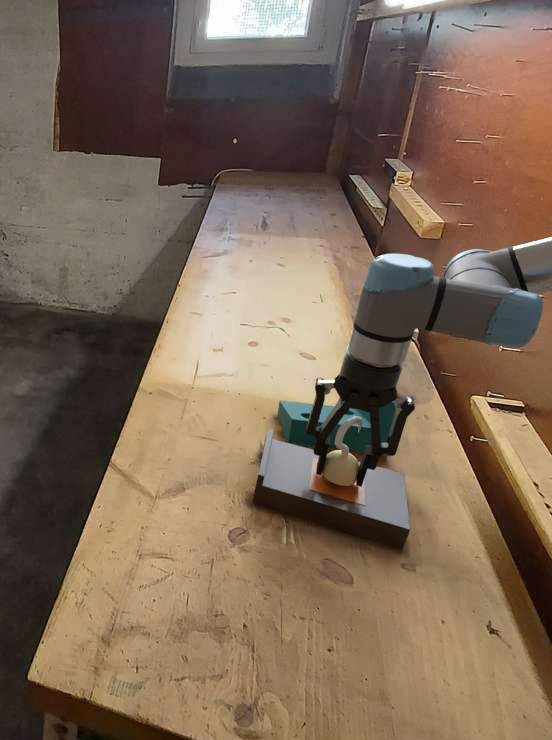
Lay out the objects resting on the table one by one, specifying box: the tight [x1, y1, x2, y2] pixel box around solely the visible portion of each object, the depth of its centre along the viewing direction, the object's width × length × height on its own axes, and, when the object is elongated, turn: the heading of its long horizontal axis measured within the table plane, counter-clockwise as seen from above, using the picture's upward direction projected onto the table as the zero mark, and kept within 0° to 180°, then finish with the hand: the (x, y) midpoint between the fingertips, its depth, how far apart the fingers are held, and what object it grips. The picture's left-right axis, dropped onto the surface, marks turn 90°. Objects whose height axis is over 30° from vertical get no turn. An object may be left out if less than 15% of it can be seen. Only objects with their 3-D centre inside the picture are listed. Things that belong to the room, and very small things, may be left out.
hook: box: [322, 416, 363, 486], centre depth 92 cm, size 6×5×12 cm
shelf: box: [251, 428, 411, 551], centre depth 96 cm, size 22×14×6 cm, turn 61°
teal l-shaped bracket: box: [276, 400, 396, 457], centre depth 111 cm, size 18×11×10 cm, turn 76°
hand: (338, 475), depth 95 cm, fingers closed on hook, 5 cm apart
